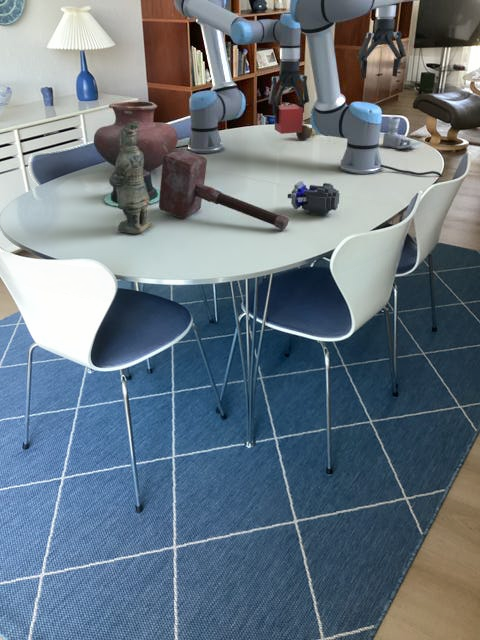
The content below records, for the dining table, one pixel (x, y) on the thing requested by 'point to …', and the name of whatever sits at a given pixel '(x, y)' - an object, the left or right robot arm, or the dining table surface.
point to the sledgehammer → (200, 190)
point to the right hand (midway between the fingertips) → (379, 77)
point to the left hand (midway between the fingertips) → (288, 122)
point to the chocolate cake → (152, 192)
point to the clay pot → (137, 134)
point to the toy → (315, 198)
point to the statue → (131, 182)
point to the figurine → (305, 132)
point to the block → (289, 119)
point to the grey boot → (396, 136)
